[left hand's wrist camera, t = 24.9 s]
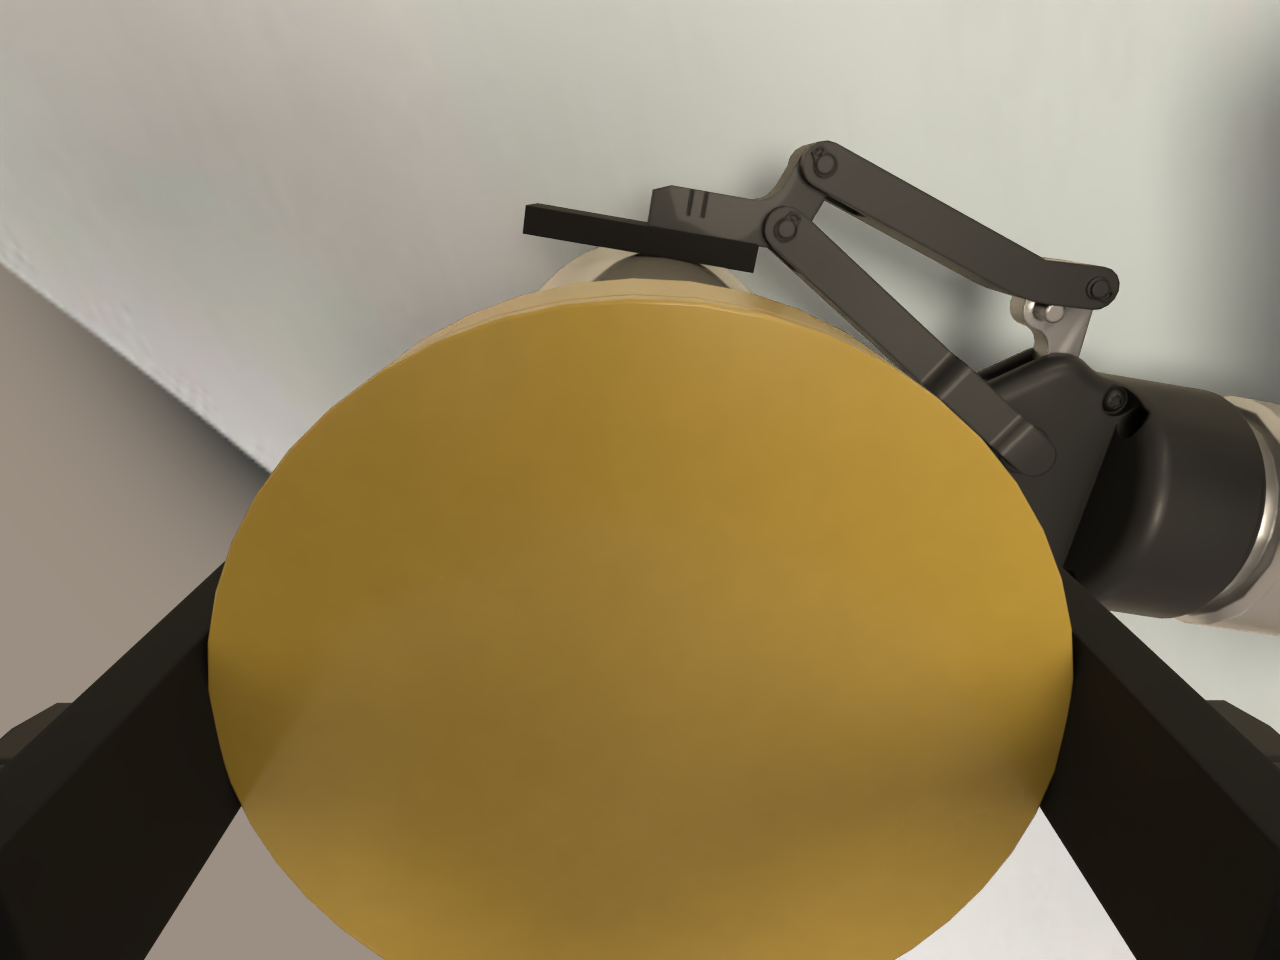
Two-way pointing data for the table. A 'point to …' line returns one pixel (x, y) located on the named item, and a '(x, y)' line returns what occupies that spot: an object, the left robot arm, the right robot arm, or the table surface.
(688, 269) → the jar
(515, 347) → the lid
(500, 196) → the table surface
